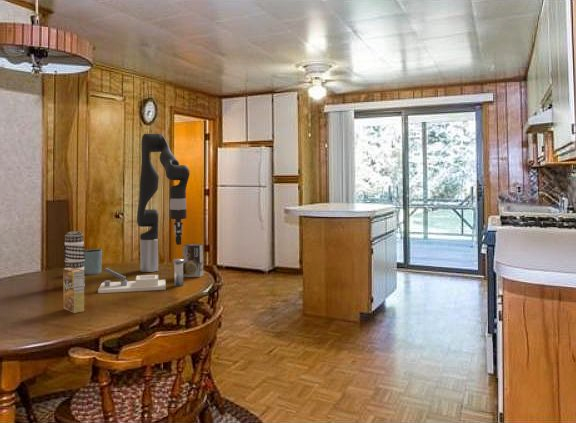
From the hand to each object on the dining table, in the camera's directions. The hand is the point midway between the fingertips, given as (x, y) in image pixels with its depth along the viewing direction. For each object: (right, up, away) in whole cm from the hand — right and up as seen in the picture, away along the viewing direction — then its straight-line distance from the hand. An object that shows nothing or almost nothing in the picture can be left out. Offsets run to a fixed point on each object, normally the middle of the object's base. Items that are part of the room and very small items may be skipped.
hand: (178, 243), depth 212 cm
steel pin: (0, -20, +1) cm, 20 cm away
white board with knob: (-19, -20, -4) cm, 28 cm away
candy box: (-29, -22, -42) cm, 55 cm away
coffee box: (+2, -19, +24) cm, 30 cm away
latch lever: (-27, -14, -7) cm, 31 cm away
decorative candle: (-47, -20, -1) cm, 51 cm away
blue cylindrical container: (-53, -18, +30) cm, 63 cm away
